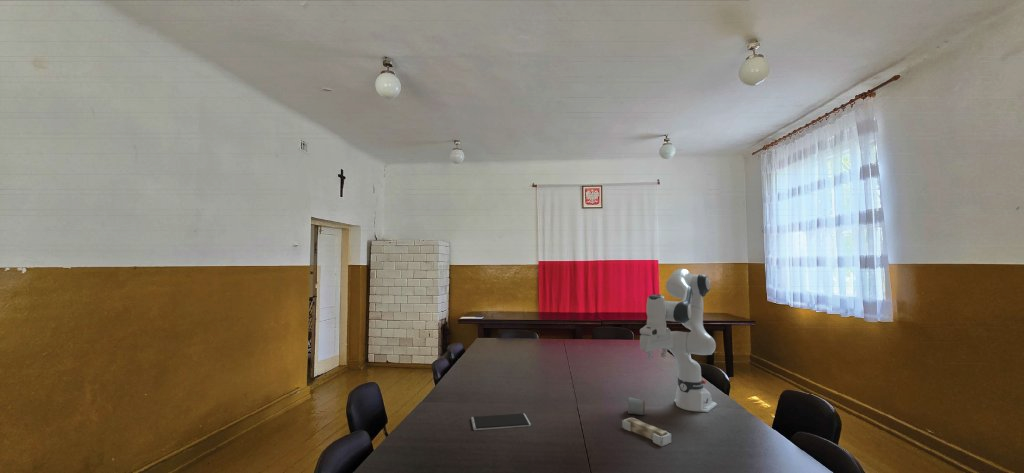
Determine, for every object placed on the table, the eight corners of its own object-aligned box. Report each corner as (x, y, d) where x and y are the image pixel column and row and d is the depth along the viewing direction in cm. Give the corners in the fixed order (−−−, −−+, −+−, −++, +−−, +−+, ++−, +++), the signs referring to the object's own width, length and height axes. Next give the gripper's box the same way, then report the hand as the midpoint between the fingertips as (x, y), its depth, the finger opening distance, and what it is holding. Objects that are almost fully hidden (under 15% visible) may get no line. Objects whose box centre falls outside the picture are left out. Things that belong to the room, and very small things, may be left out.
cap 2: (652, 442, 164) (652, 433, 164) (662, 438, 167) (662, 430, 167) (661, 446, 160) (661, 437, 160) (671, 442, 163) (671, 434, 164)
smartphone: (531, 427, 179) (531, 423, 179) (473, 431, 174) (473, 427, 174) (524, 416, 192) (524, 412, 192) (471, 419, 187) (471, 416, 187)
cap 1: (639, 428, 177) (639, 420, 178) (629, 431, 174) (629, 423, 174) (631, 424, 181) (631, 417, 181) (622, 427, 178) (622, 420, 178)
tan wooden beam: (626, 429, 176) (626, 419, 177) (631, 427, 179) (631, 417, 179) (662, 444, 162) (662, 433, 162) (666, 442, 164) (666, 431, 165)
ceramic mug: (645, 417, 189) (645, 401, 190) (628, 415, 192) (627, 399, 192) (644, 410, 199) (644, 395, 200) (628, 408, 202) (627, 393, 202)
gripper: (664, 326, 191) (665, 354, 190) (637, 330, 180) (637, 359, 179) (675, 328, 186) (676, 357, 185) (648, 332, 175) (649, 362, 174)
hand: (657, 358), depth 182 cm, fingers open, 8 cm apart
